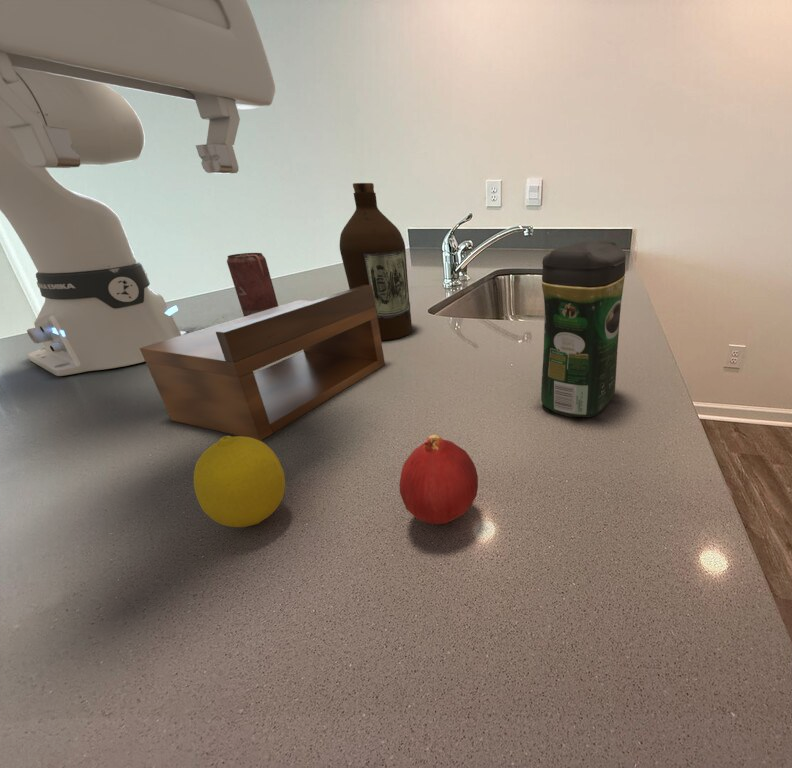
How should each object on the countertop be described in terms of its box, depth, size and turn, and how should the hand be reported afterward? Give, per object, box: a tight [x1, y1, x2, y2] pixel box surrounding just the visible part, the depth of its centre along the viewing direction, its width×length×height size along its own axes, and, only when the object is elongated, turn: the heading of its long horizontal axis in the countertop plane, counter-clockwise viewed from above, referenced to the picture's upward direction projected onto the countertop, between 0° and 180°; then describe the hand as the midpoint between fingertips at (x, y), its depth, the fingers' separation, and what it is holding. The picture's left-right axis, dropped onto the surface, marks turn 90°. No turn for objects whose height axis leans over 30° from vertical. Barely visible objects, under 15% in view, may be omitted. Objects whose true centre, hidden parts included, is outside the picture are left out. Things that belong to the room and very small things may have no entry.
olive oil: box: [339, 182, 413, 342], centre depth 70 cm, size 11×11×25 cm
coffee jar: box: [540, 239, 627, 418], centre depth 46 cm, size 10×8×19 cm
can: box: [226, 252, 279, 317], centre depth 77 cm, size 6×6×14 cm
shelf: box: [140, 285, 386, 442], centre depth 52 cm, size 14×22×12 cm, turn 160°
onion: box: [399, 434, 479, 525], centre depth 30 cm, size 6×6×8 cm
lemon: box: [193, 435, 286, 528], centre depth 31 cm, size 6×6×8 cm
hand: (152, 170), depth 26 cm, fingers open, 8 cm apart
